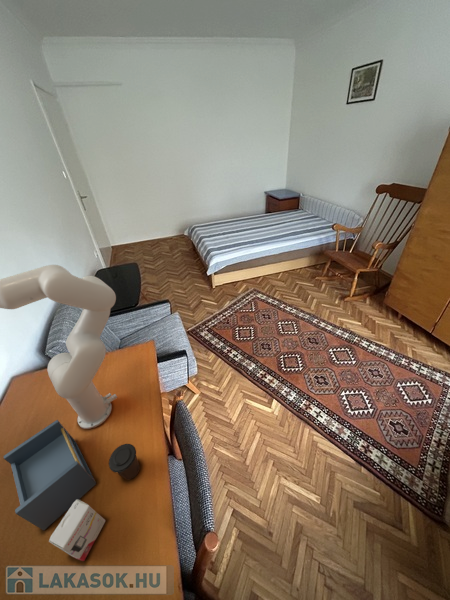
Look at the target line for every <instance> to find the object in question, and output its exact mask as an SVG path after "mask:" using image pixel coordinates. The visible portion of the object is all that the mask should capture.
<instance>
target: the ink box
mask: <svg viewBox="0 0 450 600" xmlns="http://www.w3.org/2000/svg"><path fill="white" fill-rule="evenodd" d="M105 524H106V519H105V518H104V517H102V516H101V514H99V513H98V512H97V511H96V510H95V509H93V508H92V507H91V506H90V505H89V504H88V503H86V502H84V501H82V500H81V499H79V500H78V499H77V500H76V501H75V502H74V503H73V504H72V506H71V507H70V508H69V509H68V510H67V511H66V512H65V514H64V516H63V517H62V519H61V521H60V522H59V523H58V525H57V526H56V528H55V529H54V531H53V532H52V534H51V535H50V537H49V540H48V543H50V544H52V545H53V546H54V547H56V548H58V549H60V550H61V551H62V552H65V553H66V554H67V555H68V556H70V557H72V558H74V559H76V560H78V561H81V562H85V560H86V558H87V556H88V555H89V554H90V551H91V549H92V548H93V545H94V544H95V541H96V540H97V538H98V536H99V534H100V532H101V530H102V528H103V527H104V525H105Z"/></svg>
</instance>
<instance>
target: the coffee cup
mask: <svg viewBox="0 0 450 600" xmlns="http://www.w3.org/2000/svg"><path fill="white" fill-rule="evenodd" d="M140 467H141V466H140V463H139V460H138V456H137V448H136V447H135V446H134V444H132V443H123V444H120V445H119V446H117V447H116V448H115V449H114V450H113V451H112V453H111V455H110V457H109V461H108V468H109V469H110V471H111V472H113V473H116V474H118V475H119V476H121V477H122V478H123V479H124V480H130V481H131V480H132V479H135V478H136V477H137V476H138V474H139V472H140Z"/></svg>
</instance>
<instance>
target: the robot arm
mask: <svg viewBox="0 0 450 600" xmlns="http://www.w3.org/2000/svg"><path fill="white" fill-rule="evenodd" d="M47 298H48V299H49V300H51V301H53V302H55V303H58V304H61V305H66V306H69V307H74V308H77V309H82V311H81V313H80V316H79V318H78V319H77V321H76V323H75V325H74V326H73V328H72V329H71V331H70V333H69V334H68V336H67V338H66V339H65V347H66V349H67V351H68V352H61V353H57V354H56V355H54V356H53V357H52V358H51V359H50V360H49V362H48V364H47V367H46V368H47V369H46V371H47V375H48V377H49V380H50V382H51V384H52V386H53V388H54V390H55V392H56V393H57V395H58V396H59V397H61V398H62V399H65V400H66V401H67V402H68V404H69V405H70V406H71V408H72V409H73V410H74V411H75V413H76V414H77V424H78V426H79V427H80V428H81V429H84V430H90V429H94V428H96V427H98V426H100V425H101V424H103V423H104V422H105V421H106V420H107V419H108V418H109V416H110V414H111V412H112V409H113V406H112V402H114V401H115V400H116V399H118V396H117V394H116V393H114V394H112V393H111V392H109V393H108V394H106V395H104V396H103V395H102V394H101V392H100V391H99V389H98V388H97V387H96V385H95V383H94V381H93V379H94V378H95V377H96V374H97V373H98V371H99V369H100V368H101V366H102V364H103V362H104V361H105V358H106V355H107V347H106V345H105V343H104V342H103V340H101V336H102V334H103V331H104V330H105V327H106V326H107V323H108V322H109V318H110V316H111V309H112V308H113V307H114V306H115V304H116V300H117V295H116V293H115V291H114V290H113V288H112V287H111V286H109V285H108V284H107V283H106V282H104V281H103V280H102V279H100V278H99V277H97V276H94V275H86V276H83V277H82V278H81V277H78V276H76V275H73V274H72V272H70V271H69V270H67V269H66V268H65V267H63V266H61V265H58V264H48V265H43V266H40V267H37V268H34V269H30V270H27V271H23V272H20V273H17V274H13V275H9V276H6V277H3V278H0V309H4V310H16V309H19V308H22V307H25V306H27V305H28V306H29V305H30V304H34V303H36V302H38V301H41V300H43V299H47Z"/></svg>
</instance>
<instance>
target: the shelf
mask: <svg viewBox="0 0 450 600" xmlns="http://www.w3.org/2000/svg"><path fill="white" fill-rule="evenodd" d="M3 459H4V460H5V461H6V462H7V463H9V464H10V466H11V471H12V475H13V479H14V483H15V488H16V492H17V497H18V500H19V506H17V507H16V508H15V509H14V513H15V515H17V516H19V517H21V518H22V519H23V520H25V521H27V522H29V523H30V524H32V525H33V526H35V527H37V528H38V529H40V530H42V531H45V530H47V529H48V528H49V527H50V526H51V525H52V524H53V523H54V522H55V521H57V520H58V519H59V518H60V517H61V516H62V515H63V514H65V513H66V512H67V511H68V510H69V509H70V507H71V506H72V504H73V503H74V502H75V501H76V500H77V499H78V500H81V499H82V498H83V496H85V495H86V494H87V493H88V492H89V491H90V490H91V489H92V488H93V487H95V486H96V485H97V482H96V480H95V478H94V475H93V473H92V471H91V469H90V467H89V465H88V463H87V461H86V459H85V457H84V455H83V453H82V451H81V449H80V447H79V445H78V443H77V441H76V439H75V438H74V437H73V436H72V435H71V433H69V431H68V430H67V429H66V427H65V426H64V425H63V424H62V423H61V422H60V420H59V419H56V420H54V421H53V422H52V423H50V424H49V425H47V426H45V427H44V428H42V429H41V430H40V431H38V432H36V433H35V434H34V435H32V436H31V437H29V438H28V439H26V440H25V441H23V442H22V443H21V444H19V445H18V446H16V447H15V448H12V449H11V450H10V451H8V452H7V453H6V454H4V455H3Z"/></svg>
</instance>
